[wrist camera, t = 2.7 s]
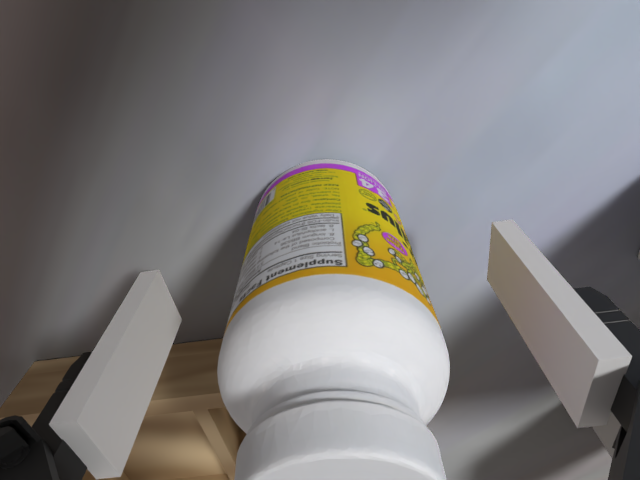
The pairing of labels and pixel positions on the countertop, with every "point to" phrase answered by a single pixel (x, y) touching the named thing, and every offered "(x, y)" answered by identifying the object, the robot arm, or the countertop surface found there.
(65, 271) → the countertop surface
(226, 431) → the rack
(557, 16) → the countertop surface
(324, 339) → the supplement bottle
